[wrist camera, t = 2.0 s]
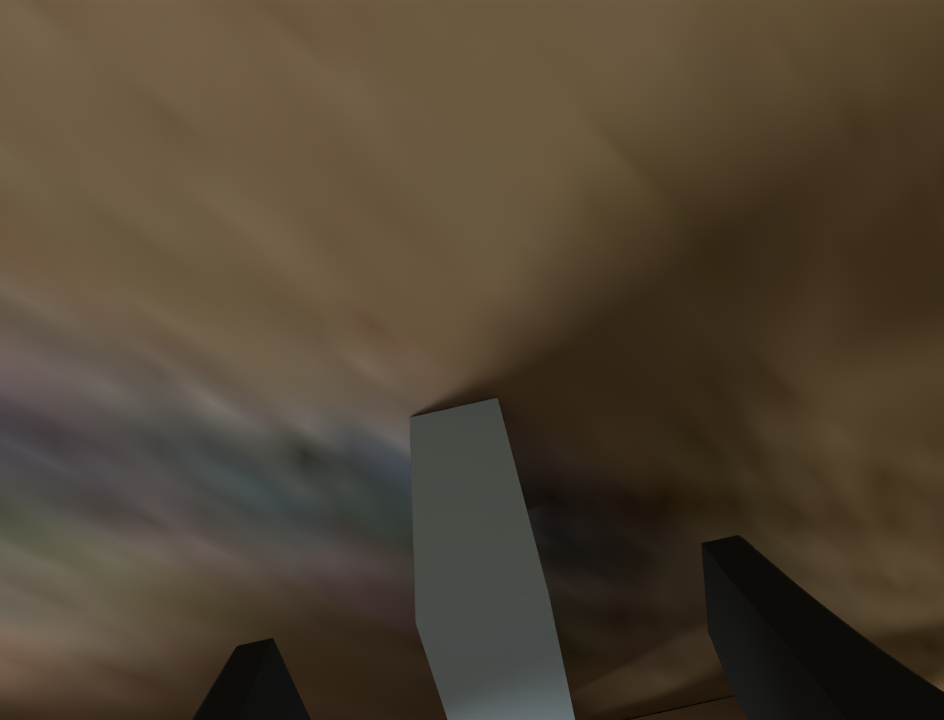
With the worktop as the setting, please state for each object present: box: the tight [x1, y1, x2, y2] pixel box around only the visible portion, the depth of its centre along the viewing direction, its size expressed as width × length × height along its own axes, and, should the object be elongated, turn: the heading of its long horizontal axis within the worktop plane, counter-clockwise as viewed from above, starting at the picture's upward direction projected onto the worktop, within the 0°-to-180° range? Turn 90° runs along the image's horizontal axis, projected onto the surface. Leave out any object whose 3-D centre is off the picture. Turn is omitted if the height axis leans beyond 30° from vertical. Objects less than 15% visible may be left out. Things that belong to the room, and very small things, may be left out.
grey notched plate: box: [410, 398, 575, 720], centre depth 15 cm, size 10×2×6 cm, turn 12°
